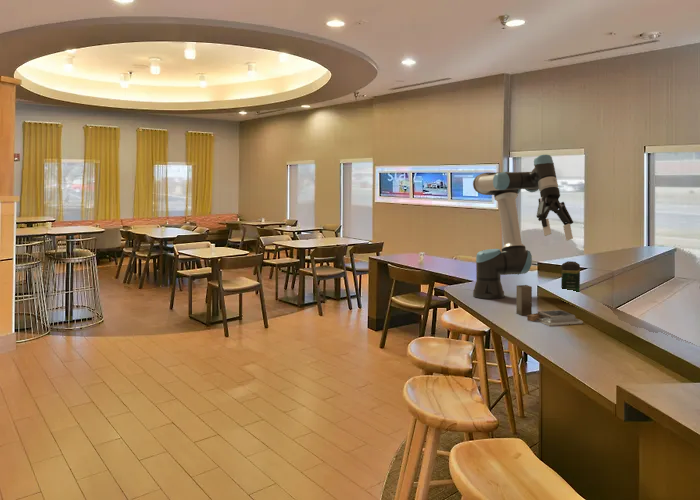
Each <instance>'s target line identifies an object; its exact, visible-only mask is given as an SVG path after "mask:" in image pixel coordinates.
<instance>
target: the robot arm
mask: <svg viewBox="0 0 700 500" xmlns="http://www.w3.org/2000/svg"><path fill="white" fill-rule="evenodd" d="M533 166H534V168H533V169H532V170H531V171H517V172H513V171H503V172H502V171H501V172H500V171H499V172H498V171H497V172H483V173H480V174H477V175H476V176H475V178H474V179H473V182H472V186H473V189H474V191H475V192H477V193H478V194H480V195H485V196H493V197H494V201H497V203H498V205H497V206H498V211H499V219H500V226H501V235H502V239H503V240H502V241H503V246H502V247H501V249H500V248H488V249H484V250H480V251H478V252H477V253H476V258H475V263H476V265H475V266H476V270H475V271H476V274H475V275H476V277H475V278H476V281H475V285H474V289H473V291H472V296H473V297H474V298H477V299H483V300H484V299H486V300H491V299H492V300H494V299H496V300H497V299H502V298H505V291H504V289H503V285H502V281H501V277H502V276H504V275H505V276H506V275H507V276H508V275H509V276H510V275H523V274H524V275H525V274H527V273H528V272H529V271H530V269H531V267H532V263H533V258H532V257H533V256H532V253H531V251H530V250H528V249H527V247H526V245H525V244H523V243H522V236H521V230H520V223H519V217H518V216H519V215H518V209H517V202H516V201H517V200H516V199H517V198H518V195H519V194H520V193H521V190H525V191H526V192H529V193H536V192H537V191H539V195H540V198H538V199H537V200H538V206H537V211H536V218H537V220H538V221H539V222H541V226H542V229H543V235H544V237H547V236H549V235H552V230H551V226H550V225H551V224H550V221H549V219H550V218H548V216H549V215H550V212H553V213H554V214H556V216H557V217H558V218H559V220H560V221H561V222H562V224H563V226H562V227H563V231H564V236H565V241H570V240H572V239H574V236H573V233H572V232H573V231H572V227H571V225H572V224H574V221H573V218H572V216H571V215H570V213H569V211H568V209H567V207H566V204H565V203H566V202H564V201H562V202H560V201H559V199H560V197H561V193H560V192H561V191H560V188H559V185H558V179H557V175H556V169H555V164H554V160H553V157H552V156H551V155H550V154H540V155H538V156H536V157H535V158H534V160H533Z"/></svg>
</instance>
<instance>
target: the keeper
mask: <svg viewBox="0 0 700 500" xmlns="http://www.w3.org/2000/svg"><path fill="white" fill-rule="evenodd" d="M537 313H538V314H540V317H539V318H536V321H537V322H539V323H541V324H544V325H546V326H547V327H554V326H565V325H567V326H568V325H569V324H570V325H583V322H584V321H583V320H581V319H578V318H576V315H575V314H573V313H570V312H568V311H565V310H562V309H551V310H539V311H537Z"/></svg>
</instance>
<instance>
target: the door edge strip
mask: <svg viewBox="0 0 700 500" xmlns="http://www.w3.org/2000/svg"><path fill="white" fill-rule="evenodd" d="M526 317H527V319H526V321H528V322H529V321H530V322H535V321H537V320H536V318H539V317H540V314H538V312H537V313H536V312H535V313H532V314H531V315H526Z"/></svg>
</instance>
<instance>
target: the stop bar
mask: <svg viewBox="0 0 700 500" xmlns="http://www.w3.org/2000/svg"><path fill="white" fill-rule="evenodd" d="M532 287H533V286H530V285H527V284H523V285H521V284H520V285H519V284H518V285H516V294H515V295H516V296H515V297H516V302H515V303H516V305H515V306H516V309H515V310H516V312H515V313H516V314H517V315H518V316H522V317H523V316H526V317H527V315H531V314H533V305H532V303H533V298H532V297H533V296H532V295H533V293H532V291H533V290H532V289H533V288H532Z"/></svg>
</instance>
